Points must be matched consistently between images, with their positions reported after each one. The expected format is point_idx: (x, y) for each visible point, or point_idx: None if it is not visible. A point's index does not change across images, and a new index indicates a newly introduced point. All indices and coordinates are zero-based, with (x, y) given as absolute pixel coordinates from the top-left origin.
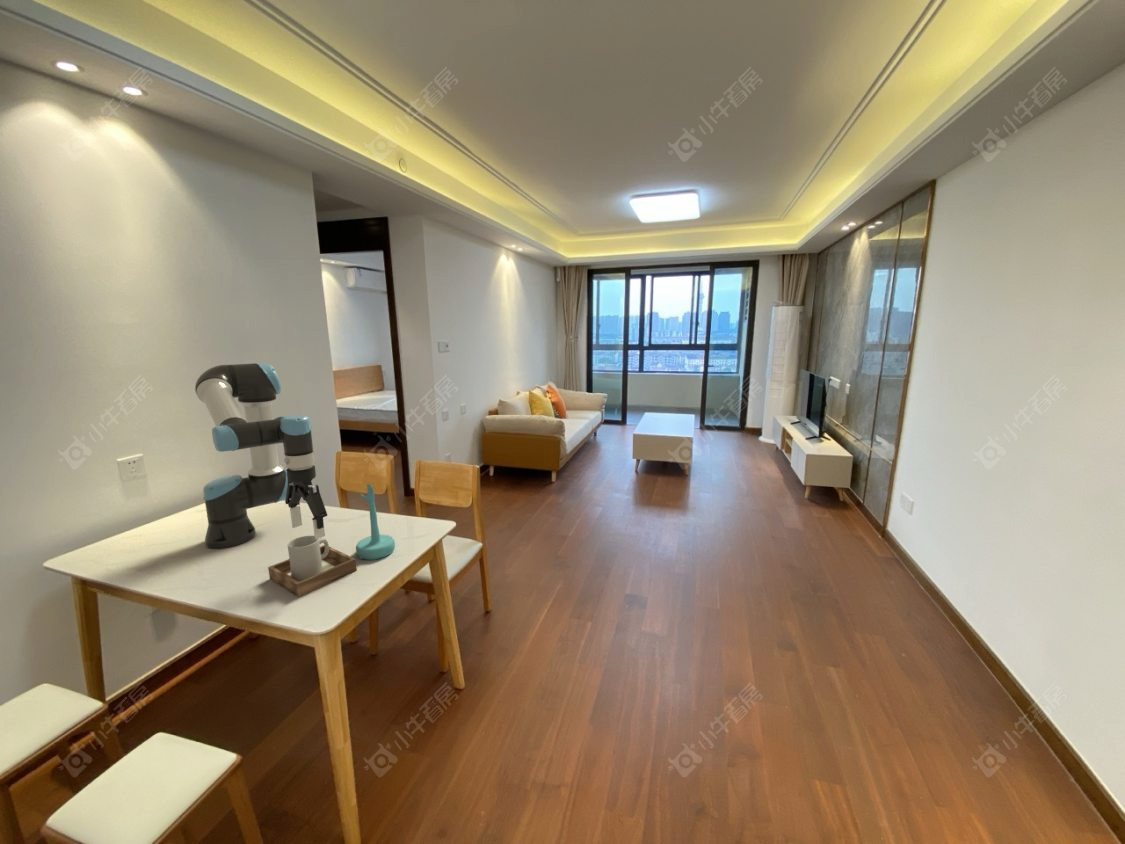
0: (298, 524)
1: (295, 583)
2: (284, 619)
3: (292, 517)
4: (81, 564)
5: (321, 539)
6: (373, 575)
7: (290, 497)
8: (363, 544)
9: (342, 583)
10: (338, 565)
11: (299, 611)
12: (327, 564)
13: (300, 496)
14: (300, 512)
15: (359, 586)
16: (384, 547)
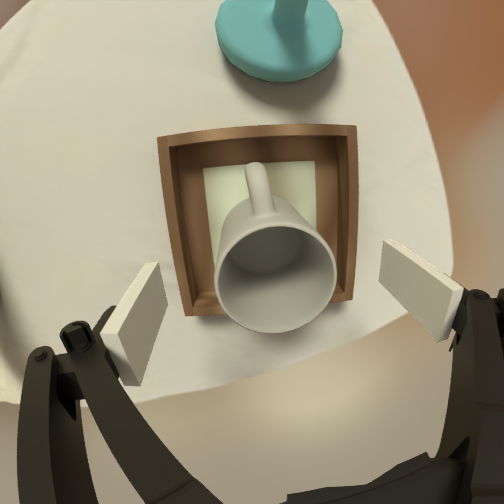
0: (160, 285)
1: (342, 300)
2: (383, 322)
3: (154, 340)
4: (4, 396)
5: (268, 196)
6: (396, 122)
7: (73, 429)
8: (269, 49)
9: (371, 190)
10: (352, 181)
11: (386, 298)
12: None
13: (164, 445)
14: (134, 303)
15: (412, 174)
16: (341, 30)
